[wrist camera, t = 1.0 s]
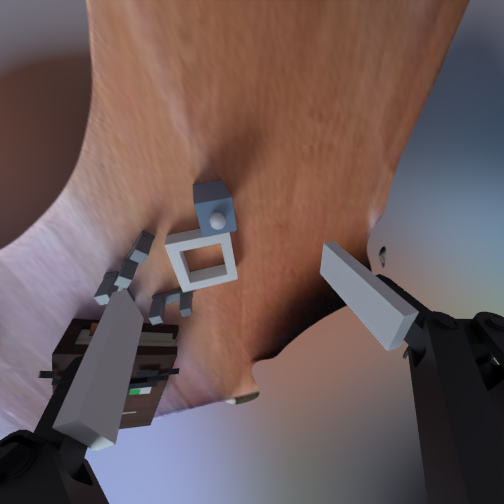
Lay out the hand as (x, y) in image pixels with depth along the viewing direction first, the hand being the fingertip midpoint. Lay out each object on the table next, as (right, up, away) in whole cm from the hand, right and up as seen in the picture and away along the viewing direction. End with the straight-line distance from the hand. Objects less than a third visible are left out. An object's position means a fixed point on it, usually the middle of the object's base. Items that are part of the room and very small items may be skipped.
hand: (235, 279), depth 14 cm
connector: (-5, +10, +15) cm, 19 cm away
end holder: (-7, +2, +20) cm, 21 cm away
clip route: (-15, -1, +19) cm, 24 cm away
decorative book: (-26, -21, +29) cm, 44 cm away
